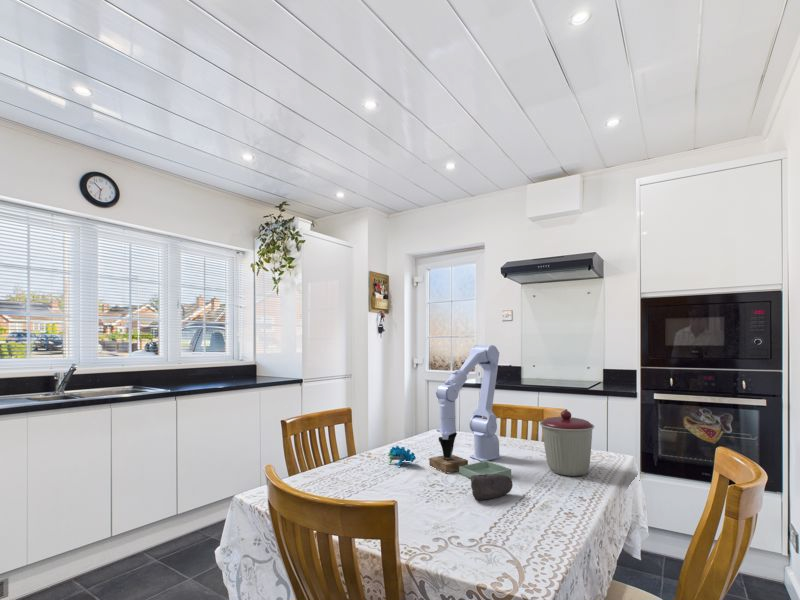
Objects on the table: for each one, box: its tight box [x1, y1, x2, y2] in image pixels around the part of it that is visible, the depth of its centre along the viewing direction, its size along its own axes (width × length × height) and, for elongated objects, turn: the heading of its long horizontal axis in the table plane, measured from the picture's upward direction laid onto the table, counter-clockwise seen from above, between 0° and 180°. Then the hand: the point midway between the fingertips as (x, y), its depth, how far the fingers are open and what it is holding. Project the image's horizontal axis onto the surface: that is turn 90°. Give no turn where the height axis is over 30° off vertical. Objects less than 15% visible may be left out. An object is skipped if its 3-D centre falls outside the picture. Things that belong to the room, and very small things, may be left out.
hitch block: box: [428, 454, 469, 474], centre depth 159 cm, size 10×10×3 cm
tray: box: [458, 460, 512, 480], centre depth 150 cm, size 13×12×2 cm
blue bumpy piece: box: [387, 445, 417, 467], centre depth 163 cm, size 11×6×10 cm
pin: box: [445, 449, 453, 461], centre depth 159 cm, size 3×3×8 cm
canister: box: [539, 410, 595, 477], centre depth 153 cm, size 18×18×21 cm
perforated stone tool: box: [470, 474, 513, 501], centre depth 130 cm, size 15×5×7 cm, turn 110°
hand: (448, 455), depth 159 cm, fingers open, 6 cm apart
